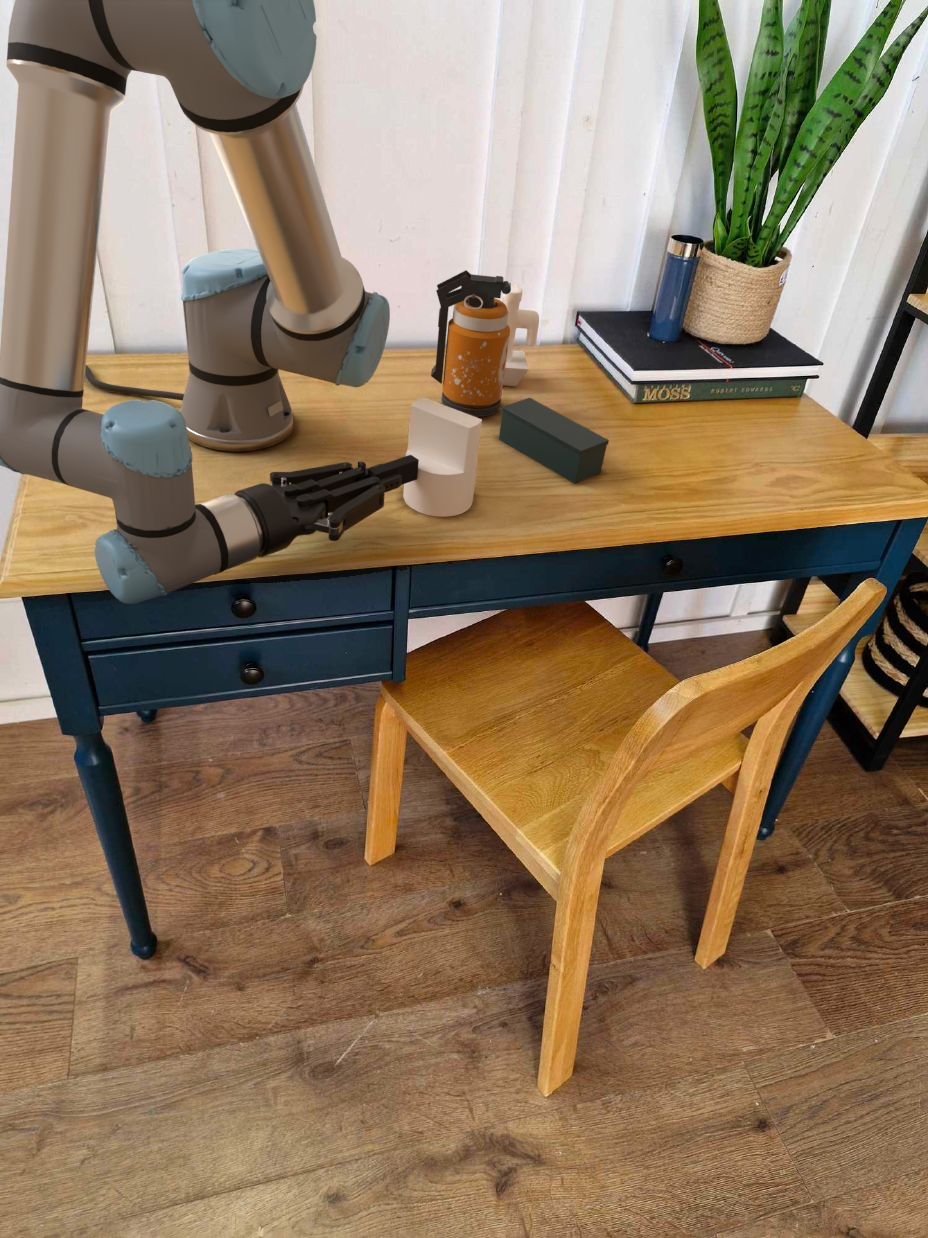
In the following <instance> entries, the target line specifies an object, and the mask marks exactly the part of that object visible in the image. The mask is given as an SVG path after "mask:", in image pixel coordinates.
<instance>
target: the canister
mask: <svg viewBox="0 0 928 1238" xmlns="http://www.w3.org/2000/svg"><path fill="white" fill-rule="evenodd" d="M511 284H512V283H511V282H509V281H508V280H504V277H503V276H502V275H496V276H491V275H481V274H472V273H470V271H468V270H467V269H465V270H463V271H461V272H459V273H458V274H456V275H453V276H451V277H450V278H448V279H446V280H444V281H442V282H440V283H438V284H436V287H437V289H436V296H437V298H438V302H439V305H440V308H439V311H438V321H437V327H438V332H437V344H436V345H437V346H436V347H437V348H436V356H435V365H434V366H433V367H432V368H431V372H430V377H431V378H433V379H434V381H435V380H436V381H437V382H438V383H439V384H441V385H442V392H441V404H442V405H445V406H448V407H450V408H453V409H456V410H458V411H461V412H463V413H466V414H469V415H471V416H474V417H477V418H479V417H486V416H490V415H493V414H495V413H497V412H498V411H499V410H500V408H501V403H502V394H503V387H504V386H503V381H504V373H505V365H506V358H507V350H508V343H509V335H510V327H509V326H508V325H507V321H508V310H507V307H506V305H505V304H504V303H503V302H504V301H502V300H500V299H501V297H502V295H503V294H509V293H510V291H511ZM452 306H453V311H452V317H451V319H449V318H448V317H449V308H450V307H452ZM448 319H449V321H448Z"/></svg>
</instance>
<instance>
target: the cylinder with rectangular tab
mask: <svg viewBox="0 0 928 1238" xmlns="http://www.w3.org/2000/svg"><path fill="white" fill-rule="evenodd" d="M482 423H483V419H482V418H479V417H474V416H471V415H469V414H466V413H463V412H461V411H458V410H456V409H453V408H450V407H448V406H445V405H443V404H442V403H440V402H438V401H434V400H431V399H429V398H426V397H422V398H419V399H417V400H415V401H414V402H412V403H411V404H410V410H409V425H408V438H407V450H406V452H405V456H408V455H412V456H414V457H415V458H417V459H418V460H419V462H418V475H417V480H414V481H411V482H408V483H406V484H403V492H402V494H403V500H404V502H405V504H406V505H407V506H408V507H409V508H410V509H412V510H414V511H416V512H418V513H420V514H423V515H427V516H432V517H443V518H447V517H454V516H458V515H461V514H463V513H465V512H467V511H469V509H470V508H471V507H472V505H473V502H474V495H475V486H476V476H477V469H478V462H479V460H478V457H479V448H480V441H481V440H480V439H481V432H482Z"/></svg>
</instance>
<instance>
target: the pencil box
mask: <svg viewBox="0 0 928 1238" xmlns="http://www.w3.org/2000/svg"><path fill="white" fill-rule="evenodd" d="M498 440H500V441H502V442H503V443H505V444H507V445H508V446H511V447H512V448H514V449H515V450H517V451H518V452H520V453H522V454H524V455H526V457H527V456H528V457H529V458H531V459H532V460H534V461H535V462H537V463H538V464H540V465H542V466H544V467H546V468H547V469H548V470H550V471H553V472H554V473H556V474H558V475H559V476H561V477H563V478H565V479H566V480H568V481H569V482H571V483H573V484H577V483H579V482H582V481H584V480H587V479H589V478H591V477H594V476H596V475H598V474H601V473H602V470H603V465H604V460H605V455H606V450H607V446H608V445H609V442H610V440H609V439H608V438H605V437H604V436H602V435H600V434H598V433H596V432H595V431H593V430H591V429H589V428H587V427H586V426H583V425H582V424H580V423H578V422H576V421H574V420H572V419H570V418H568V417H567V416H565V415H562V414H561V413H559V412H558V411H555V410H553V409H551V408H550V407H548V406H546V405H544V404H542V403H540V402H539V401H537V400H535V399H533V398H531V397H527V398H524V399H521V400H518V401H515V402H512V403H509V404H506V405H503V406H501V420H500V427H499V435H498Z"/></svg>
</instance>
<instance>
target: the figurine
mask: <svg viewBox="0 0 928 1238" xmlns="http://www.w3.org/2000/svg"><path fill="white" fill-rule="evenodd" d="M523 291H524V290H523V288H521V287H519V285H518V284H512V283H511V291H510V293H509V294H503V293H502V300H503V301H502V302H503V303H504V304H505V305H506V307H507V310H508V321H507V325H508V326H509V327H510V335H509V343H508V350H507V358H506V365H505V373H504V381H503V387H504V386H505V387H517V385H518V384H519V383H520V382H521V381H522V379H523V378H524V377H525V375H526V374H527V373H528V372H529V370H530V367H529V364H528V361H527V357H526V354H525V351H524V350H515V349H514V346H515V340H516V331H517V329H526V337H525V343H526V345H527V346H529V347H534V346H535V345H536V344H537V338H538V332H539V326H540V315H539V313H538V312H537V311H535V310H530V309H520V305H521V302H522V299H523Z"/></svg>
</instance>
